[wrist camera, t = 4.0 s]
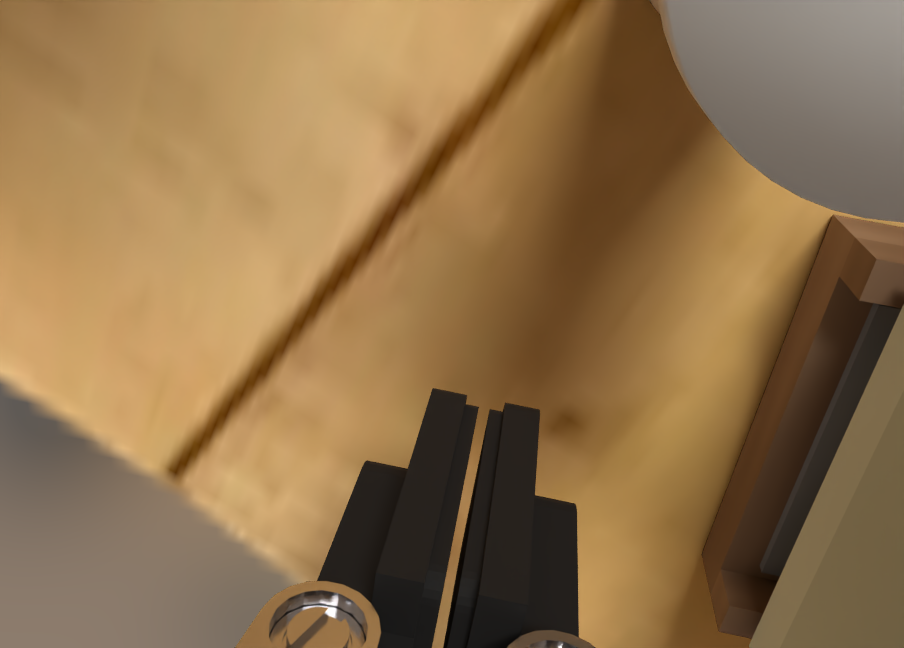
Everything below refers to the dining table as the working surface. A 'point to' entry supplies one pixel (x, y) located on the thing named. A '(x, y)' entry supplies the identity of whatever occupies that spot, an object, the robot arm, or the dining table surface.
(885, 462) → the lid
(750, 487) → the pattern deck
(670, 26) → the grey peg
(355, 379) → the dining table surface
